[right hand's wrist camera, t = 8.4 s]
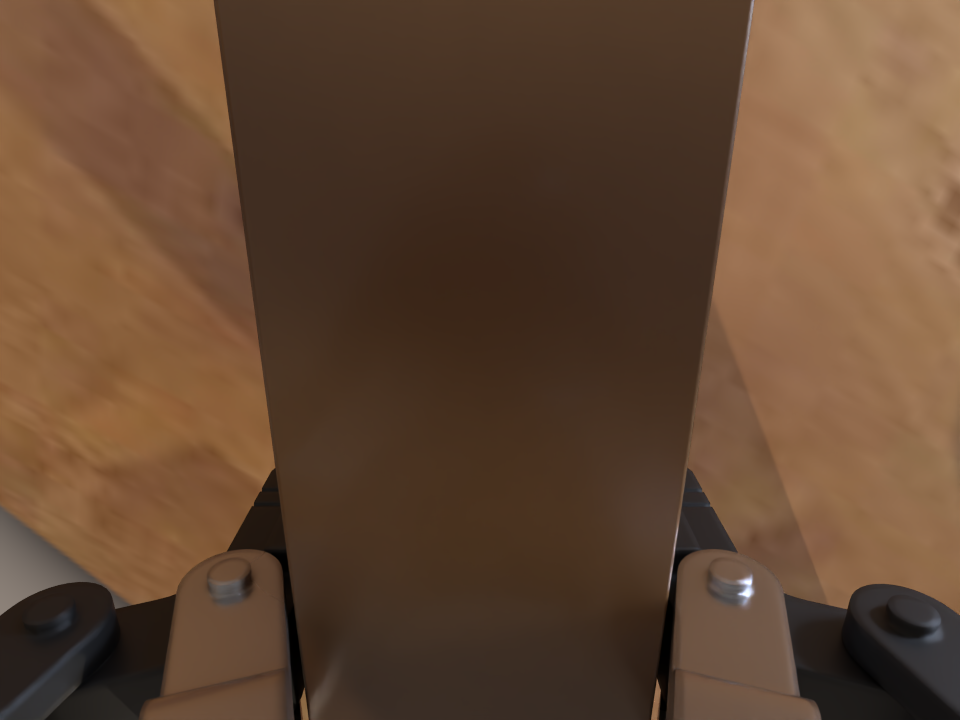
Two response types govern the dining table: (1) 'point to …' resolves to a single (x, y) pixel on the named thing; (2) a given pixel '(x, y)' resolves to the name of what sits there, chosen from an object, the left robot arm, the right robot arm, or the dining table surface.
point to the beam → (482, 332)
